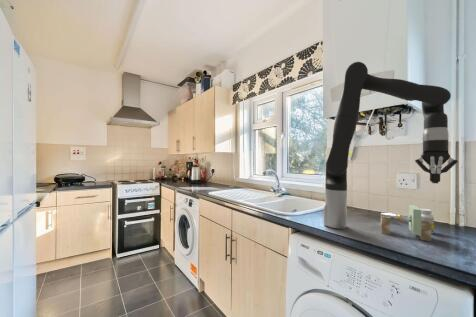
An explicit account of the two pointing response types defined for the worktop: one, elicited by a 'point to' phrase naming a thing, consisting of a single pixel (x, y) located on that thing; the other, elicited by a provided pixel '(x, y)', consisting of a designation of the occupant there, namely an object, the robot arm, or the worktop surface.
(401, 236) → the worktop surface
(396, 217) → the metal pipe
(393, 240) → the worktop surface
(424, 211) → the supplement bottle
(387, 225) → the pipe stand
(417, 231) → the collar
